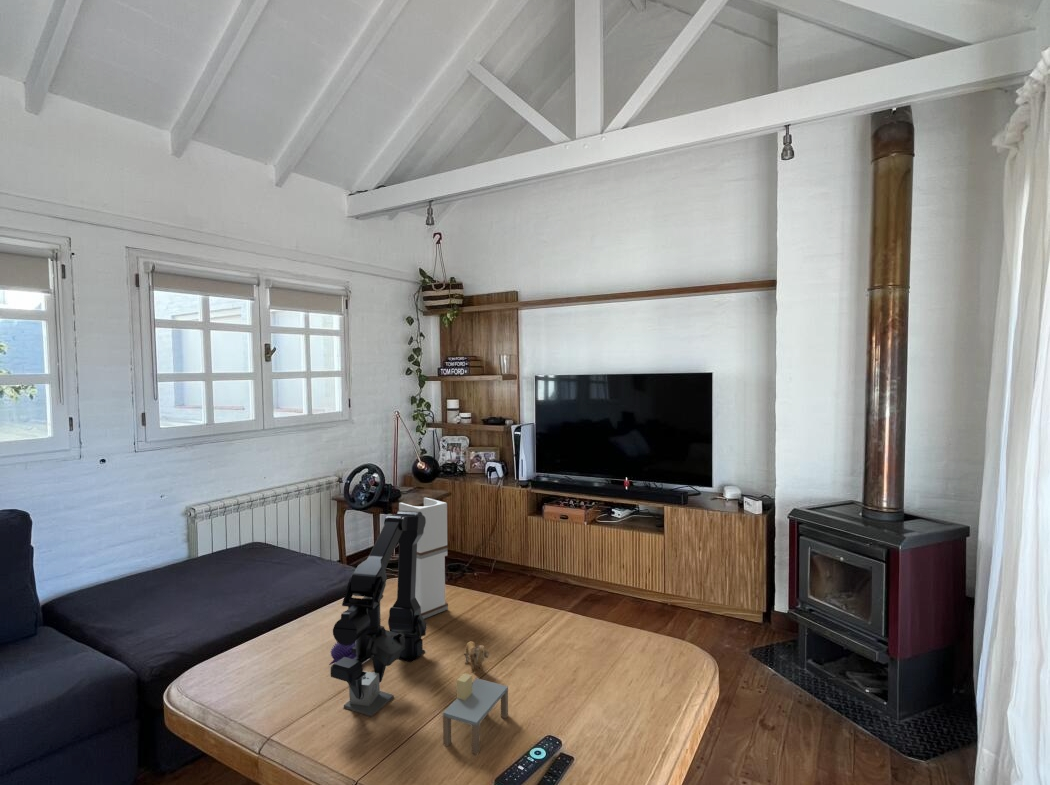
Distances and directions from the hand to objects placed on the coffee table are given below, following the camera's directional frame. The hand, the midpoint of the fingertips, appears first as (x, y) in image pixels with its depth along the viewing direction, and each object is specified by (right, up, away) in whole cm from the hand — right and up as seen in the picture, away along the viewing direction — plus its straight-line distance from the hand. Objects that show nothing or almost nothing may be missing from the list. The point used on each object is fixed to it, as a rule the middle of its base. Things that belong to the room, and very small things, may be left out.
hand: (369, 689), depth 129 cm
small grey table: (+26, -3, -10) cm, 28 cm away
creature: (-10, -3, +21) cm, 23 cm away
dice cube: (-1, -3, +1) cm, 3 cm away
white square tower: (+4, -1, +51) cm, 51 cm away
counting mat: (0, -3, 0) cm, 3 cm away
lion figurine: (+23, -3, +16) cm, 28 cm away
